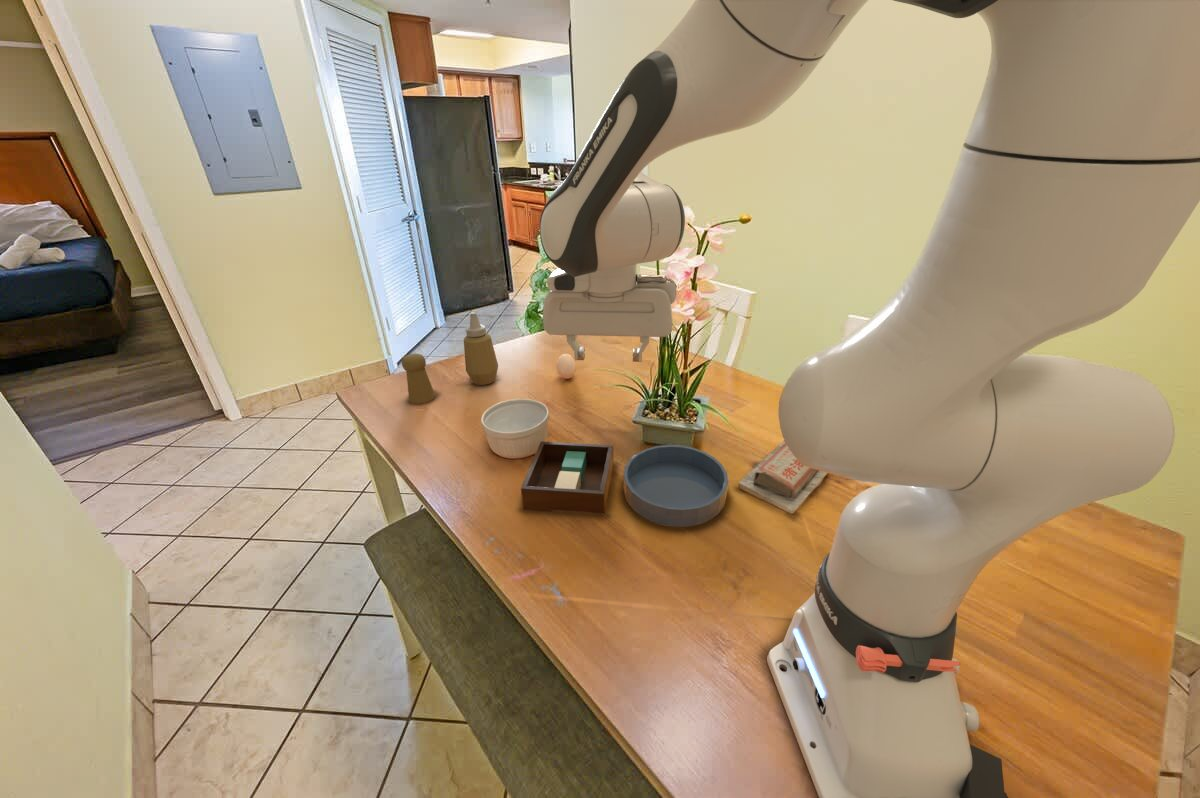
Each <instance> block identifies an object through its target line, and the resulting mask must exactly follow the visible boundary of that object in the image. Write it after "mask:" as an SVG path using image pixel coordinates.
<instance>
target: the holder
mask: <svg viewBox="0 0 1200 798" xmlns="http://www.w3.org/2000/svg"><path fill="white" fill-rule="evenodd" d="M567 451H577V452H586V462H587V466H586V469H585V473H584V477H583V481H581V487H580V489H565V488H554V487H555V484H556V481H557V478H558V475H559V472H560V471H562V464H563V461H564V458H565V455H566V452H567ZM614 463H615V462H614V445H613V444H597V443H595V444H594V443H578V442H577V443H575V442H557V441H546V442H541V443H540V445H539V447H538V449H537V452H536V453H535V454H534V457H533V458H532V462H531V464H530V466H529V469H528V471H527V473H526V475H525V478H524V480H523V483H522V485H521V487H520V492H521V499H522V506H523V511H537V512H538V511H539V512H550V513H551V512H552V511H564V512H565V511H566V512H579V513H594V514H606V508H607V502H608V497H609V491H610V486H611V480H612V476H613V475H612V474H613V468H614Z"/></svg>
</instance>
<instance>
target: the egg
mask: <svg viewBox="0 0 1200 798" xmlns="http://www.w3.org/2000/svg"><path fill="white" fill-rule="evenodd" d="M576 370H577V367H576V360H575V359H574V358H573V357H572V355H570V354H569V353H563V354H561V355H560V356H559V357H558V359H557V362H556V372H557V374H558V376H560V377H561V378H562V379H565V380H568V379H571V378H572V377H573V376H574V374H575V373H576Z"/></svg>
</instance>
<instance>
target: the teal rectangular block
mask: <svg viewBox="0 0 1200 798" xmlns="http://www.w3.org/2000/svg"><path fill="white" fill-rule="evenodd" d="M586 466H587V462H586V452H577V451H567V452H566V455H565V458H564V461H563V464H562V471H570V472H580V479H581V481H583V477H584V473H585V469H586Z"/></svg>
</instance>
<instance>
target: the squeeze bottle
mask: <svg viewBox="0 0 1200 798" xmlns="http://www.w3.org/2000/svg"><path fill="white" fill-rule="evenodd" d="M469 316H470V319H469V326H466V327H465V333H466V335H465V336H464V337H463V349H464V363H465V364H464V365H465V372H466V373H467V375H468V377H469V379H470V380H471V382H472V383H473V385H477V386H486V385H489V384H492V383H494V382H495V381H496V379H497V375H498V369H499V363H498V359H497V356H496V355H497V354H496V351H495V348H494V343H493V339H492V336H491V334H489V333H487V329H486V325H484V324H481V323H480V320H479V318H478V315H477V312H475V311H473V312H470V315H469Z"/></svg>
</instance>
